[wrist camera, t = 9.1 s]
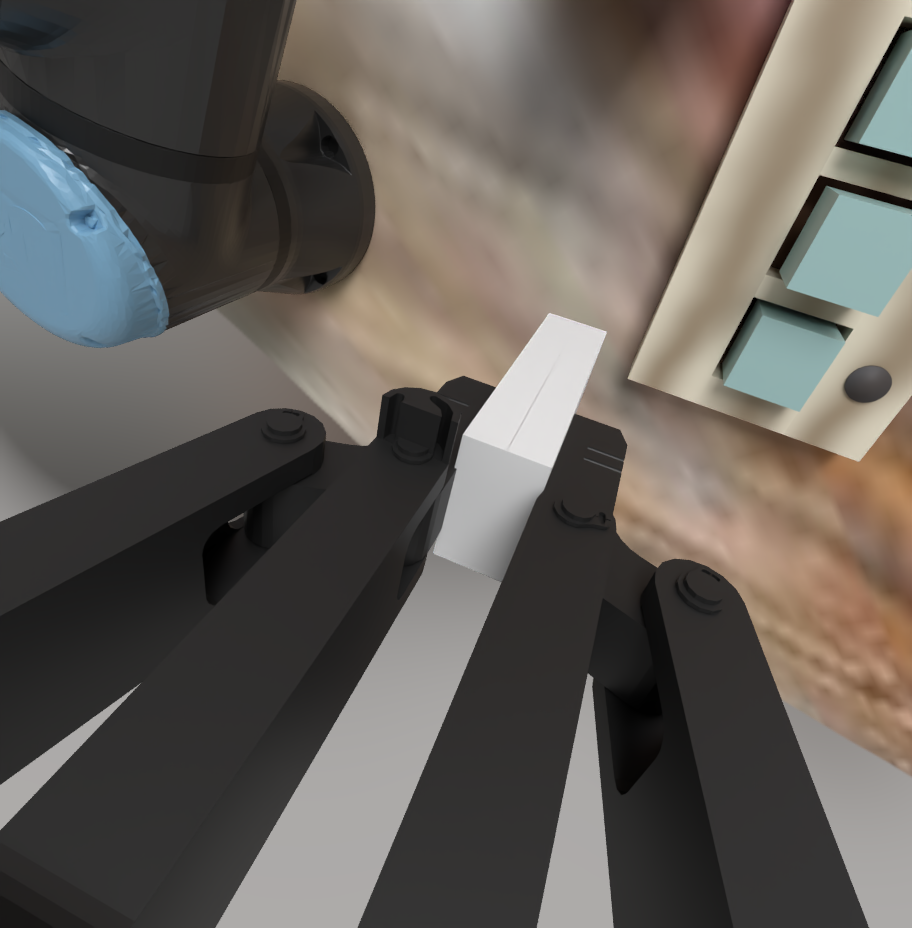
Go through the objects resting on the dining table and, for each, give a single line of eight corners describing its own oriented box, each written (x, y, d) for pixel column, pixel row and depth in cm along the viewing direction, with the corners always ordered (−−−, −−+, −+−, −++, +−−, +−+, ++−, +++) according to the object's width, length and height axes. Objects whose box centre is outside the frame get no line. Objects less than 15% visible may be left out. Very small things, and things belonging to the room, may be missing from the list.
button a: (722, 363, 40) (723, 385, 37) (757, 297, 37) (762, 315, 34) (791, 387, 39) (799, 411, 36) (833, 321, 36) (845, 342, 33)
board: (632, 363, 43) (627, 379, 41) (814, -54, 29) (825, -69, 27) (850, 440, 40) (859, 463, 38) (1168, 21, 26) (1217, 11, 24)
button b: (779, 271, 34) (786, 288, 31) (826, 185, 31) (839, 194, 28) (861, 297, 33) (878, 316, 30) (918, 211, 31) (942, 223, 27)
